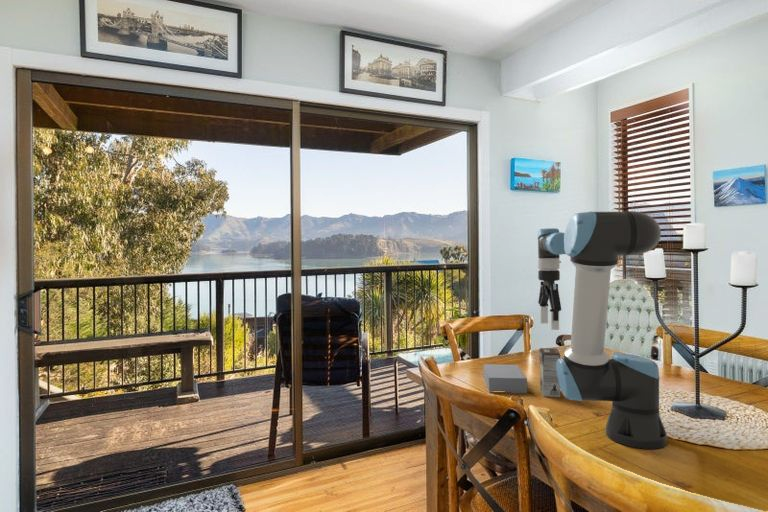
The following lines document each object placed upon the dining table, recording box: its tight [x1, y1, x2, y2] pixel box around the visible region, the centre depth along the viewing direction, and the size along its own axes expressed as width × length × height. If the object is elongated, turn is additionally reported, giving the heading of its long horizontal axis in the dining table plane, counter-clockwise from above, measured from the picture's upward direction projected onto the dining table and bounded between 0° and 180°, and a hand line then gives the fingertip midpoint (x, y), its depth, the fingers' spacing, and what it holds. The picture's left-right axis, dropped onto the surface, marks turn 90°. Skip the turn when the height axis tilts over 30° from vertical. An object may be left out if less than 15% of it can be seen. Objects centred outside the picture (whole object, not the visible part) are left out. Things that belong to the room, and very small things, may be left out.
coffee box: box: [539, 347, 561, 398], centre depth 168 cm, size 9×6×16 cm
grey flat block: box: [483, 363, 528, 394], centre depth 179 cm, size 20×14×6 cm
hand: (549, 326), depth 168 cm, fingers open, 13 cm apart
